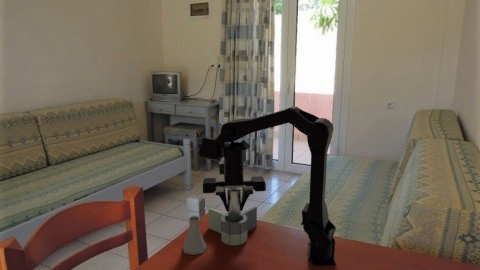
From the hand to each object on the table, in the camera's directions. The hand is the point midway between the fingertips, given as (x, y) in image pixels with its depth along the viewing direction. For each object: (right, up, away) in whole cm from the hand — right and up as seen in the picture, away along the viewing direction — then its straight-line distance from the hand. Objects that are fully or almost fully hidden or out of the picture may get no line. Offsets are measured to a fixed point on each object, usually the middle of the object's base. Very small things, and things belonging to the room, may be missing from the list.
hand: (234, 210), depth 109 cm
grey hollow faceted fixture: (+2, -9, +5) cm, 10 cm away
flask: (-12, -11, -3) cm, 16 cm away
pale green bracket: (-3, -9, +4) cm, 10 cm away
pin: (0, -2, 0) cm, 2 cm away
